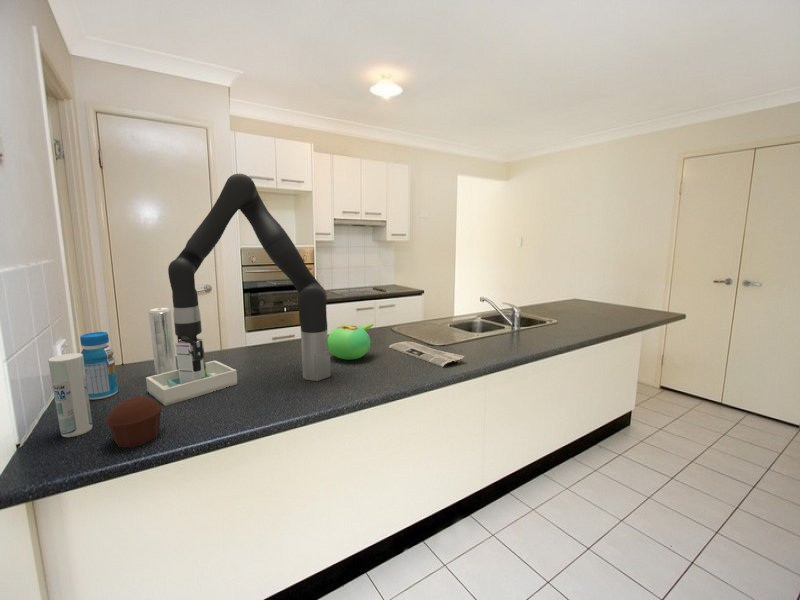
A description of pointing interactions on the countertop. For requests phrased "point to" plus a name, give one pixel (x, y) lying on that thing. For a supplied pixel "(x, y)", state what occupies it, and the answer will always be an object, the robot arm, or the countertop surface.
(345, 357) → the green rounded pot shape
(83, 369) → the spray can
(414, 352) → the newspaper
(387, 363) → the countertop surface
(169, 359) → the silver metal cylinder
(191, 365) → the syrup box
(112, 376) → the blue supplement bottle
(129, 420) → the muffin
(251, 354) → the countertop surface
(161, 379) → the bin
